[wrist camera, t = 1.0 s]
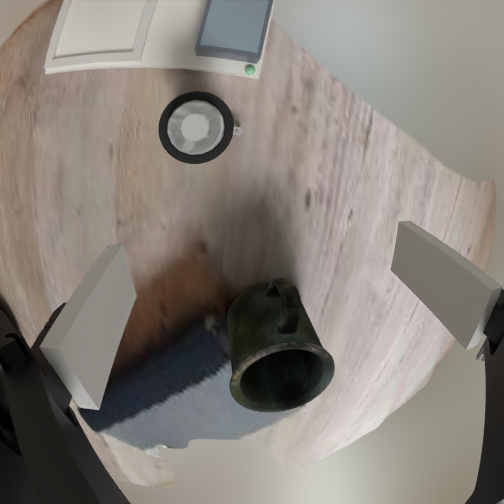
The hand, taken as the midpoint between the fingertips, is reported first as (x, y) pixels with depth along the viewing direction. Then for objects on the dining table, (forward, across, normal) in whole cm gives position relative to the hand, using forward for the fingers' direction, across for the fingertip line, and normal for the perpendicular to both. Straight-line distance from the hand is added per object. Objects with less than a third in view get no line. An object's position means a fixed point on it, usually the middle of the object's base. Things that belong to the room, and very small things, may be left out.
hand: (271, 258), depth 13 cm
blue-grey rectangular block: (+18, 0, +18) cm, 25 cm away
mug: (+19, +2, -16) cm, 25 cm away
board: (+18, -8, +20) cm, 28 cm away
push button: (+18, -3, +6) cm, 20 cm away
